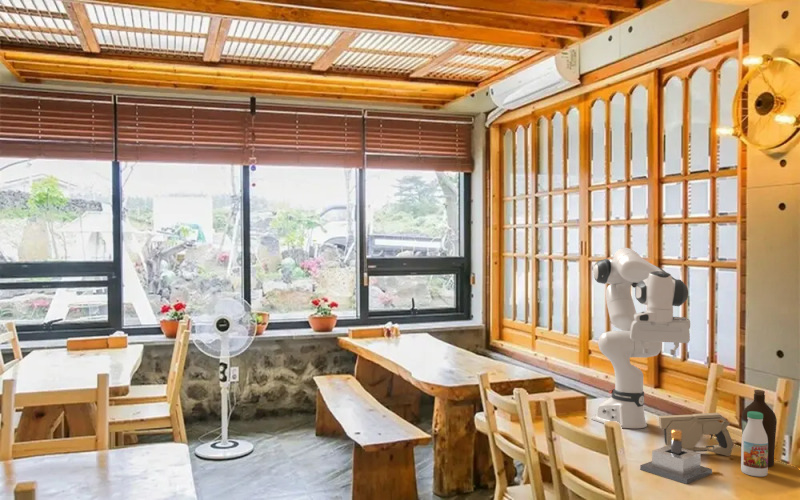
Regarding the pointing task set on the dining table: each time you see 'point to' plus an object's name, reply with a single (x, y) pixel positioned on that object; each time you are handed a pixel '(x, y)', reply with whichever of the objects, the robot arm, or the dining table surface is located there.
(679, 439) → the battery
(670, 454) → the block
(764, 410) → the olive oil
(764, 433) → the milk bottle
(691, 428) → the gun
